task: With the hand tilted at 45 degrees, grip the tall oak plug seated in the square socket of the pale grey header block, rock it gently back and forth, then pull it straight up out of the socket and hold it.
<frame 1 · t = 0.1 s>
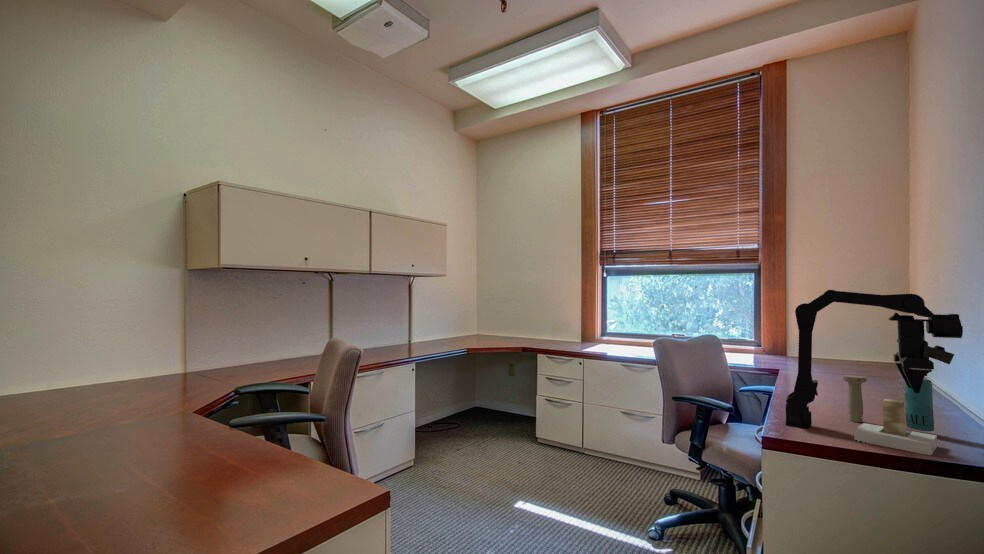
hand: (913, 390, 129), 15 cm above the table, tool pointing down, fingers open, 9 cm apart
handle: (856, 421, 150), on the table
plug: (894, 422, 127), in the header block
header block: (894, 443, 127), on the table
beverage bottle: (920, 434, 136), on the table
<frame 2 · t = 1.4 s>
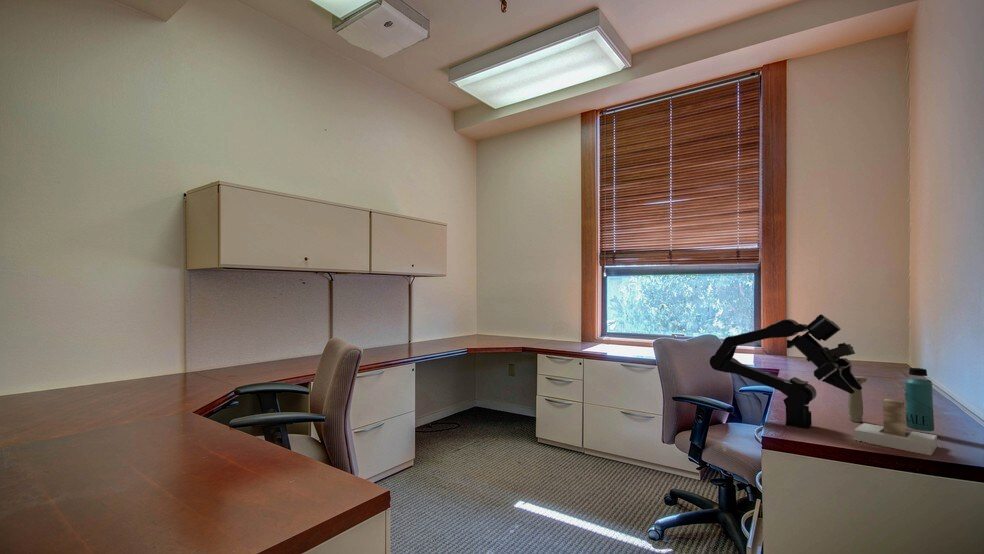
hand: (857, 391, 134), 13 cm above the table, tool tilted 45°, fingers open, 9 cm apart
nothing on the table moved.
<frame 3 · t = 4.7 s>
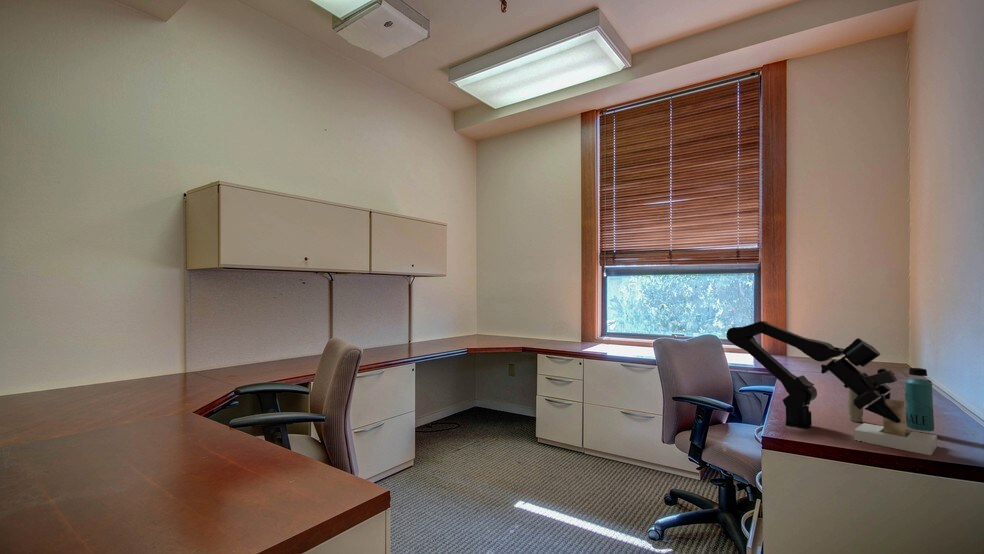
hand: (900, 420, 126), 7 cm above the table, tool tilted 45°, fingers closed on plug, 4 cm apart
plug: (894, 422, 127), in the header block, touching gripper
everything else where it was.
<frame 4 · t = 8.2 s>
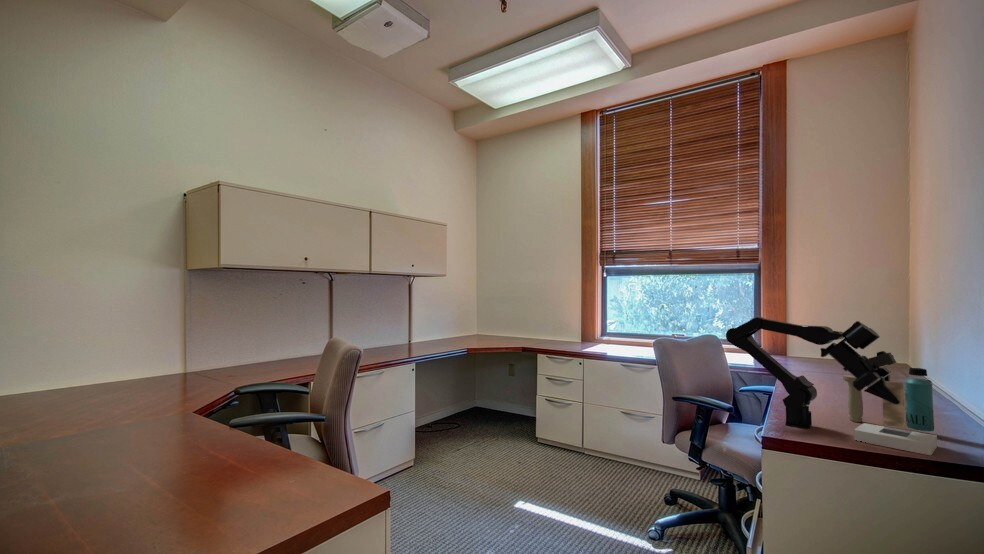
hand: (899, 402, 126), 12 cm above the table, tool tilted 45°, fingers closed on plug, 4 cm apart
plug: (893, 403, 127), point 11 cm above the table, touching gripper
everything else where it was.
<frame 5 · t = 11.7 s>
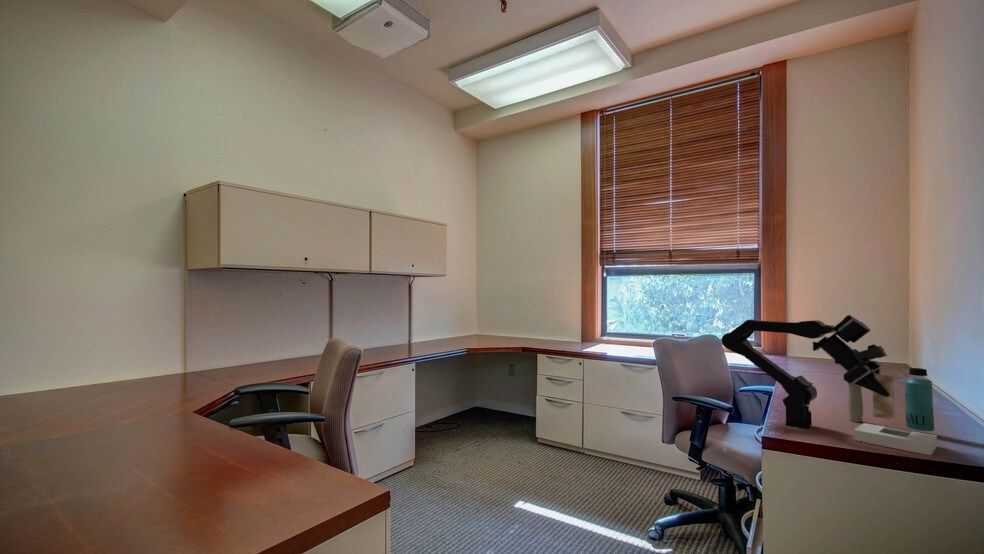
hand: (889, 395, 128), 14 cm above the table, tool tilted 45°, fingers closed on plug, 4 cm apart
plug: (883, 396, 129), point 13 cm above the table, touching gripper
everything else where it was.
at the end: the gripper is holding plug; plug inside the target area on the header block (1.2 cm from its centre), point 13.0 cm above the header block's base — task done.
